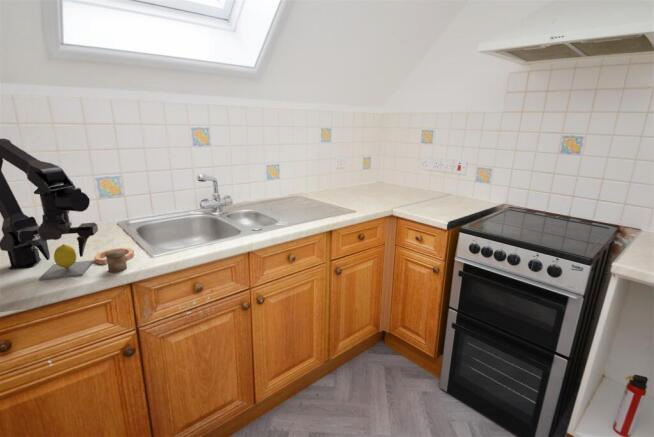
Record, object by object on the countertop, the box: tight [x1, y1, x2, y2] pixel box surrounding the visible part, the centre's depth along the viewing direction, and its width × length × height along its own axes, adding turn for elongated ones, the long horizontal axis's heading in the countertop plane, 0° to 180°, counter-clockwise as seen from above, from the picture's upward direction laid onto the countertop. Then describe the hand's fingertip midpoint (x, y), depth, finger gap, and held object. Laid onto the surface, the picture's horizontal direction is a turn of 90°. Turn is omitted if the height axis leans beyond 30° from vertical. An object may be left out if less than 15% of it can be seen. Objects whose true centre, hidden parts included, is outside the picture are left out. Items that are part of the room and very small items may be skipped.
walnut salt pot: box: [105, 249, 128, 273], centre depth 110 cm, size 5×5×6 cm
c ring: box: [93, 247, 135, 265], centre depth 120 cm, size 11×11×2 cm
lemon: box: [53, 243, 77, 269], centre depth 109 cm, size 6×6×8 cm
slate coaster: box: [38, 259, 94, 281], centre depth 110 cm, size 11×11×1 cm
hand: (65, 258), depth 109 cm, fingers open, 8 cm apart
